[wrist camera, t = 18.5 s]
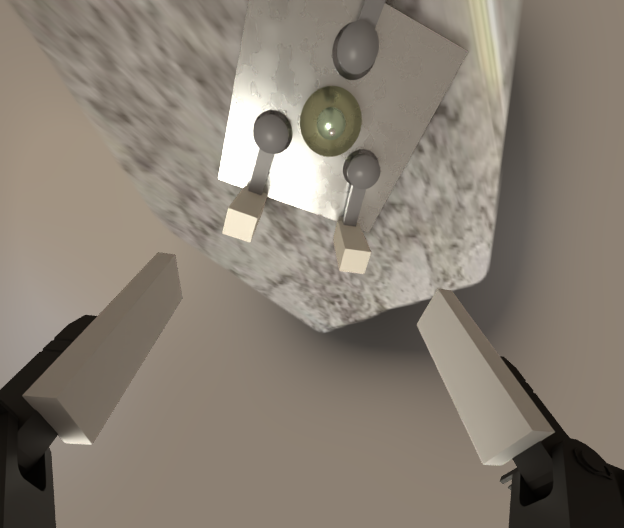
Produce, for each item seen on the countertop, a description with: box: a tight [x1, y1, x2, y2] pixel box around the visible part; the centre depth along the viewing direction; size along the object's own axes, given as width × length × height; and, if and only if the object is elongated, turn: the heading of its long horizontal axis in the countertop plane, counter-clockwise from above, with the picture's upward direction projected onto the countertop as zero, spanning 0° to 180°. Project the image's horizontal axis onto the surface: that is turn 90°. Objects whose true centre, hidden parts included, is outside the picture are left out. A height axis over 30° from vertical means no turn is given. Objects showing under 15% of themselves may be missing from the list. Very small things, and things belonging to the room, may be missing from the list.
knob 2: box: [333, 153, 381, 274], centre depth 31 cm, size 13×4×9 cm, turn 171°
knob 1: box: [223, 114, 289, 242], centre depth 29 cm, size 13×4×9 cm, turn 158°
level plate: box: [218, 0, 468, 232], centre depth 30 cm, size 23×23×6 cm
